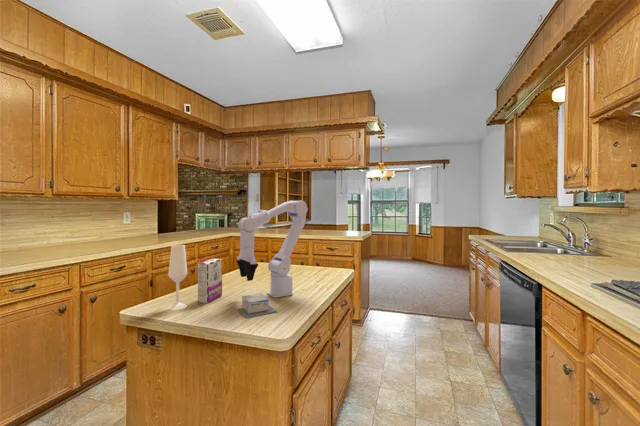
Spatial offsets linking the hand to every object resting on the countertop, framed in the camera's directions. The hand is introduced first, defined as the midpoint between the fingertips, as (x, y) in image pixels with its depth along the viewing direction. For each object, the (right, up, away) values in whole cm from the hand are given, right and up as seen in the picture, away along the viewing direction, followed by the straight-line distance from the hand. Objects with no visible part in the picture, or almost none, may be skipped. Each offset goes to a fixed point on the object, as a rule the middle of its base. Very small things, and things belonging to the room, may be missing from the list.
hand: (246, 278), depth 125 cm
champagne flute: (-25, -9, -9) cm, 28 cm away
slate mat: (+7, -10, -12) cm, 17 cm away
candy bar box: (-16, -9, +1) cm, 18 cm away
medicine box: (+4, -7, -7) cm, 10 cm away
